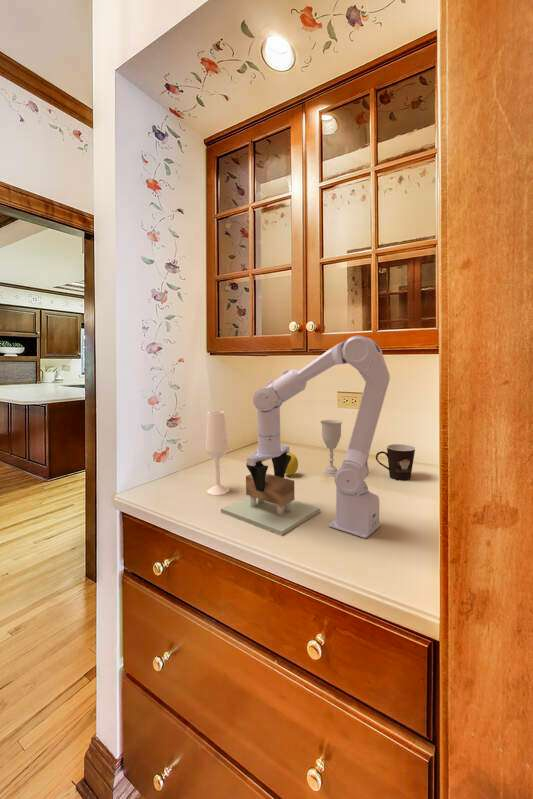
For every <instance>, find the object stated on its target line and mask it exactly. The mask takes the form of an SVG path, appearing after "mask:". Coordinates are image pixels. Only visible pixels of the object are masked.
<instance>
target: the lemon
mask: <svg viewBox="0 0 533 799" xmlns="http://www.w3.org/2000/svg"><path fill="white" fill-rule="evenodd" d="M287 455H290V456H291V460H290V462H289V464H288V466H287V469H286V472H285V474H286V475H287V476H289V477H291V476H292V475H294V474H296V472H297V471H298V468H299V461H298V458H297V456H296V455H295V454H293V453H292V452H289V454H287Z"/></svg>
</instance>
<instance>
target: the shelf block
mask: <svg viewBox="0 0 533 799" xmlns="http://www.w3.org/2000/svg"><path fill="white" fill-rule="evenodd" d="M245 491H246V493H245V494H246V496H252V497H255V498H258V499H261V500H265V501H268V502H271V503H274V504H277V505H280V506H284V505H286V504H287V503H289V502H291V501H293V500H295V480H294V479H290V478H285V477H284V478H282V477H278V476H274V474H269V473H266V476H265V489H264V491H263V492H261V491H257V490H256V487H255V483H254V480H253V477H252V475H251V474H248V475H246V476H245ZM295 501H296V500H295Z"/></svg>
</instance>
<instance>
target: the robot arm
mask: <svg viewBox="0 0 533 799" xmlns="http://www.w3.org/2000/svg"><path fill="white" fill-rule="evenodd" d="M345 364H346V365H347V364H349V365H350V366H351V367H353V368H354V369H356V370H357V371H358V372H359V374H360V375H361V377H362V379H363V380H364V382H365V384H364V389H363V393H362V396H361V400H360V404H359V407H358V411H357V414H356V417H355V422H354V427H353V429H352V432H351V437H350V441H349V444H348V447H347V451H346V453H345V456H344V458H343V461H342V464H341V466H340V467H339V469H337V472H336V474H335V476H334V482H335V483H334V484H335V485H336V487H335V488H336V490H335V491H336V492H335V495H336V496H335V501H336V503H335V505H336V506H335V507H336V508H335V509H336V510H335V513H336V514H335V515H336V516H335V519H334V520H333V521H331V522H330V523H328V527H330V528H333V529H336V530H339V531H342V532H344V533H348V534H352V535H355V536H358V537H361V538H363V539H366V538H368V537H369V536H371V535H372V534H373V533H374V532H375V531H376V530H377V529H378V528H380V527H381V524H380V498H379V495H377V494H375V493H373V492H371V491H370V490H369V486H368V485H367V483H366V481H365V480H366V479H367V477H368V475H369V471H370V470H369V464H368V461H369V458H370V457H369V456H370V451H371V446H372V443H373V439H374V436H375V432H376V429H377V425H378V422H379V419H380V415H381V411H382V408H383V405H384V400H385V398H386V394H387V390H388V387H389V384H390V380H391V378H390V377H391V376H390V371H389V369H388V367H387V363H386V360H385V358H384V354H383V350H382V349H381V347H380V346H379V345H378V344H377V343H376V342H375V340H374V339H372V338H370V337H367V336H363V335H353V336H351V337H349V338H348V339H346V341H342V342H339V343H337V344H336V345H334V346H333V347H331V348H329V349H328V350H326V351H325V352H324V353H322V354H321V355H320V356H318V357H316V358H315V359H314V360H312V361H310V363H308V364H306V365H305V366H304V367H302V368H301V369H300V370H298V369H295V368H294V369H293V368H292V369H290V370H289V369H285V370H284V371H282V375H281V376H280V377H278V378H276V379H275V380H270V381H268V383H267V386H264V387H259V388H258V389H257V390H256V391H255V392H254V394H253V398H252V403H253V405H254V407H255V408H256V411H257V413H256V415H257V416H256V419H257V424H256V425H257V449H255V452H254V453H253V454H251V455H249V456H247V457H246V468H247V470H248V471H249V473H250V475H252V477H253V480H254V483H255V487H256V490H257V491H261V492H263V491H264V489H265V476H266V474H267V471H268V469H269V466H268V465H265V464H264V463H262V462H265V461H268V460H271V462H272V466H273V473H274V474H273V475H274V476H278V477H282V478H285V476H286V475H285V474H286V473H285V472H286V469H287V466H288V464H289V462H290V460H291V456H290V455H287V454H289V453H290V446H289V445H281V413H280V412H281V410H280V409H281V408H280V407H281V406H282V405H283V403H286V402H287V401H289V400H290V399H292V398H293V397H295V396H297V395H298V394H300V393H301V392H303V391H305V389H306V387H307V382H309V381H310V380H312V379H314V378H315V377H318V375H320V374H322V373H324V372H326V371H327V370H329V369H331V368H332V367H334V366H337V365H345Z"/></svg>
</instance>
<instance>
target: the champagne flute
mask: <svg viewBox="0 0 533 799" xmlns="http://www.w3.org/2000/svg"><path fill="white" fill-rule="evenodd" d="M206 419H207V420H206V435H205V436H206V437H205V451H206V454H208V456H209V457H210V458H212V459H213V460H215V485H213V486H211V487H210V488H209V489H207V493H208V494H209V495H213V496H220V495H221V494H222V495H225V494H228V493H229V492H230V488H229V487H226V486H224V485H222V484H221V475H220V474H221V472H220V468H221V467H220V459H222V458H223V457H224V456H225V455H226V454H227V452H228V450H229V444H228V443H229V442H228V434H227V427H226V419H225V412H224V411H222V410H213V411H212V410H211V411H208V412H207V415H206ZM227 492H228V493H227ZM222 495H221V496H222Z"/></svg>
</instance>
